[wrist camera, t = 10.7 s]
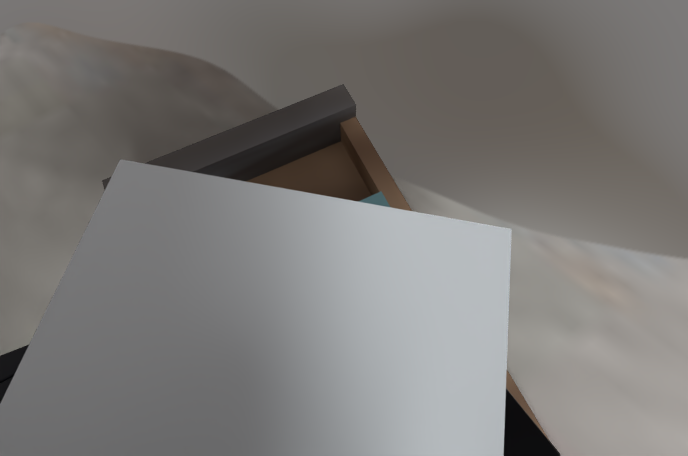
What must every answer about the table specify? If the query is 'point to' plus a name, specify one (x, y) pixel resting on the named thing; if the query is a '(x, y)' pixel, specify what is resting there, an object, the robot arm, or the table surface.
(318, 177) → the dock
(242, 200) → the light grey block
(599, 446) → the table surface
